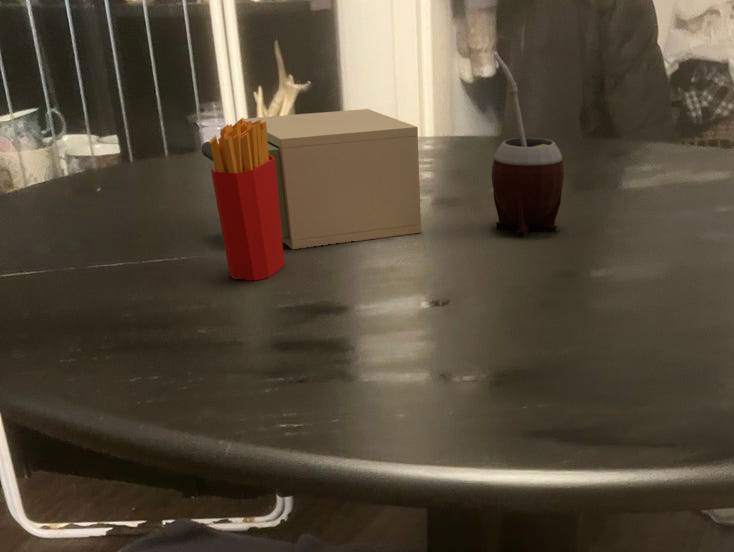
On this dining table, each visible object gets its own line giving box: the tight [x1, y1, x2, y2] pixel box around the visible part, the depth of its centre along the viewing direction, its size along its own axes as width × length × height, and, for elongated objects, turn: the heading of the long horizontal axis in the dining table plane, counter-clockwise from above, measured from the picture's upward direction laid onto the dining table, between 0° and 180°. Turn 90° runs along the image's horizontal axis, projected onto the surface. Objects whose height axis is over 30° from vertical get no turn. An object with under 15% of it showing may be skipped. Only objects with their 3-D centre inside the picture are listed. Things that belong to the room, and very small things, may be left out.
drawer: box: [201, 141, 289, 239], centre depth 96 cm, size 16×11×8 cm
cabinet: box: [243, 108, 422, 250], centre depth 98 cm, size 14×13×10 cm
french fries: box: [209, 117, 285, 281], centre depth 84 cm, size 8×4×12 cm, turn 169°
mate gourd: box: [491, 53, 565, 238], centre depth 95 cm, size 8×8×15 cm
